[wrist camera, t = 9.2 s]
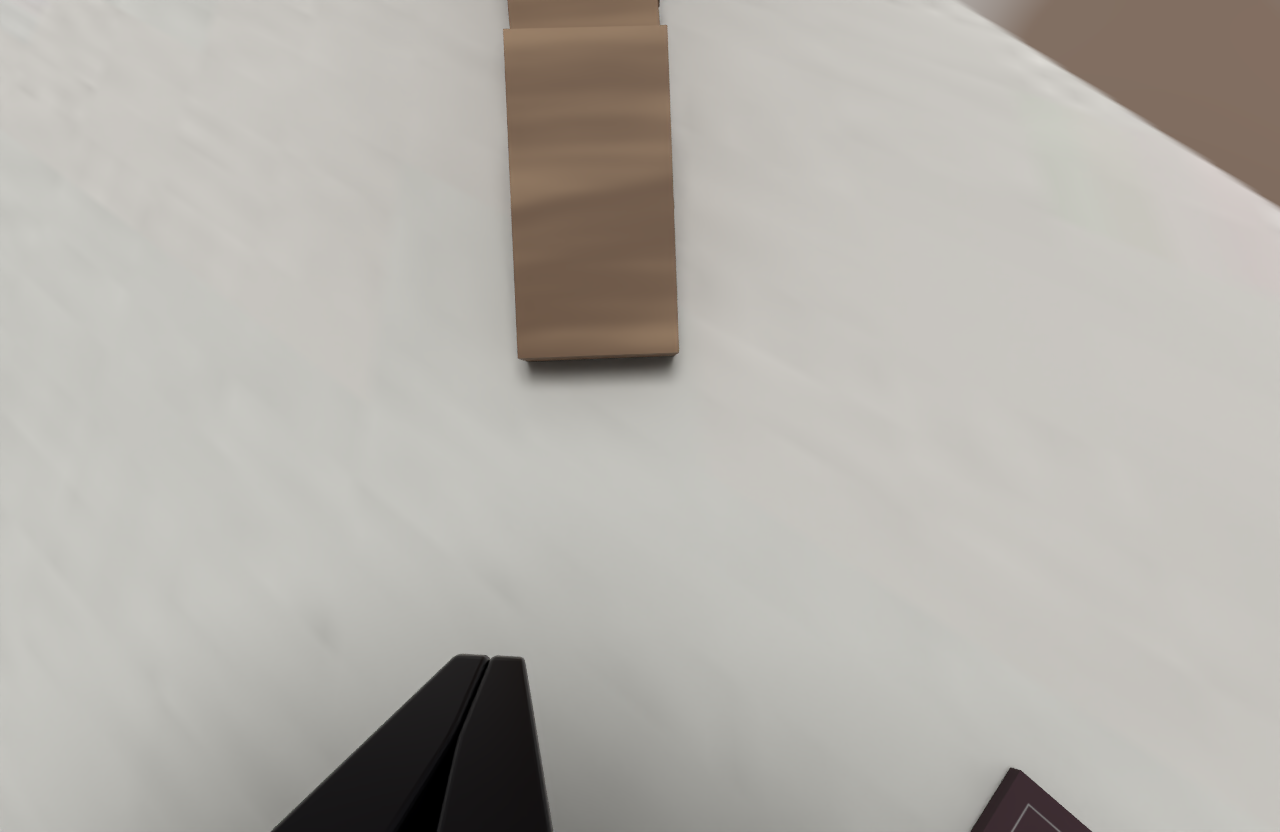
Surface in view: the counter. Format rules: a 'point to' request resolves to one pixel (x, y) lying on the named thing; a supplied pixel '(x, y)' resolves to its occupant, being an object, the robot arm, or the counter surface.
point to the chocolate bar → (1025, 809)
